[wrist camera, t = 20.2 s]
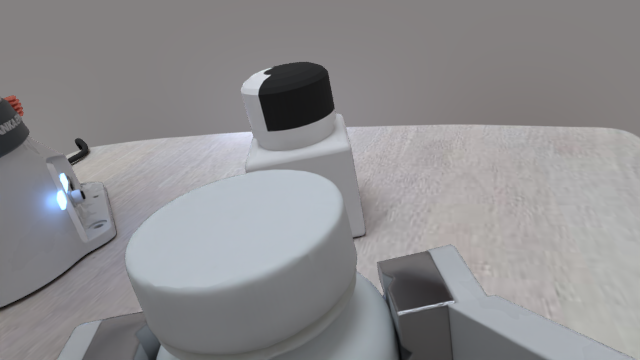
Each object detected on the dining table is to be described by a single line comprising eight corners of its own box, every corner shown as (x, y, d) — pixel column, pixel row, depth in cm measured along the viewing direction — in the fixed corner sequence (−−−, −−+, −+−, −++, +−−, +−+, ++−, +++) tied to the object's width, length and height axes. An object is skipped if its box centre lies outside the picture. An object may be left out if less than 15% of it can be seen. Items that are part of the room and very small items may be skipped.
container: (356, 191, 42) (330, 49, 36) (367, 236, 35) (337, 70, 30) (274, 206, 42) (236, 68, 37) (269, 254, 35) (221, 93, 30)
